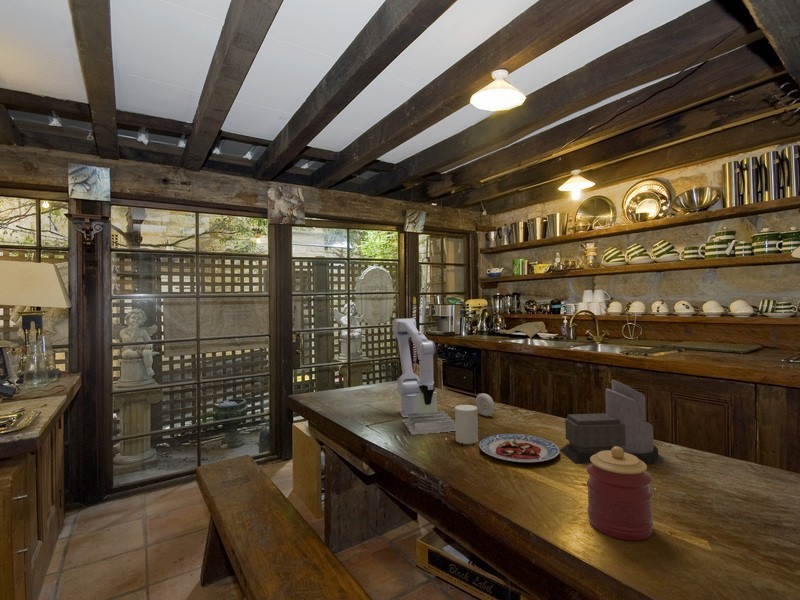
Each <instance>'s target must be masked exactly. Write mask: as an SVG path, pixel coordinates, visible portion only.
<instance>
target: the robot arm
mask: <svg viewBox="0 0 800 600" xmlns="http://www.w3.org/2000/svg"><path fill="white" fill-rule="evenodd" d="M416 321H417V320H416V319H415V318H413V317H410V318H394V320H393V322H392V331H393V338H395V339H397V344H398V350H399V358H400V364H401V371H402V372H401V373H402V374H401V375H400V376H399V377H398V378H397V392H398V394H399V396H401V398H400V399H401V400H400V401H401V410H399V413H400V415H401V416H402V418H408V413H418V412H417V393H423V395H424V401H425V405H430V404H431V400H432V395H433V392H435V389H436V387H435V386H434V384H435V381H434V355H435V353H436V343H435V341H433V340H430V339H429V340H428V338H427V337H426V335H424V333H423V332H422V331H419V330H418V328H417V322H416ZM410 338H411V342H412V343H413V345H414V346H415V347H416V354H417V359H418V360H419V361H418V362H419V363H418V364H419V365H418V366H419V368H418V370H419V372H418V373H419V375H417V374H416V373H414V370H413V362H412V357H411V350H410V344H409V343H410V342H409V339H410Z"/></svg>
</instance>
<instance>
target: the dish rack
mask: <svg viewBox="0 0 800 600" xmlns="http://www.w3.org/2000/svg"><path fill="white" fill-rule="evenodd" d="M403 422H404V423H403ZM402 423H403V425H404V426H405V427H407V428H406V429H407V431H408V432H410V433H409V434H411V435H410V436H416V435H415V434H423V435H429V434H428V433H436V434H441V433H440V432H448V433H451V432H450V431H456V429H455V419H452V417H451V416H449V414H448V413H446V411H445V410H438V412H434V413H422V414H418V413H408V417H407V418H406V419H405V418H404V419H402Z"/></svg>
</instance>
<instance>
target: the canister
mask: <svg viewBox="0 0 800 600" xmlns="http://www.w3.org/2000/svg"><path fill="white" fill-rule="evenodd" d="M590 461H591V462H592V463H590V464H587V466H586V472H587V474H588V479H587V480H586V486H587V508H586V509H587V516H588V521H589V523H590V524H591V526H593V528H595V530H597V531H599V532H601V533H602V534H604V535H606V536H608V537H612V538H614V539H615V538H616V539H618V540H619V539H620V540H623V541H634V542H635V541H641V540H646V539H648V538H650V537H651V536H652V533H653V529H654V520H653V507H652V505H653V504H652V503H653V502H652V501H653V500H652V498H653V492H652V489H650V484H651V483H652V481H653V478H652V475H651V474H650V473H649V472H648V471H647V469H648V464H645V463H644V462H643V461H641V460H639V459H638V458H637V457H636V456H634V455H632V454H629V453H626V452H624V451H623V449H622V448H621V447H618V446H615V447H613V448H612V449H611V450H606V451H600V452H598V453H597V454H594V455H592V456H591V457H590Z"/></svg>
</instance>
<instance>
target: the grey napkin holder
mask: <svg viewBox="0 0 800 600" xmlns="http://www.w3.org/2000/svg"><path fill="white" fill-rule="evenodd" d="M646 412H647V411H646V396H645V395H644V394H642V392H639V391H638V390H636V389H634V388H632V387H630V386H628V385H626V384H624V383H622V382H620V381H617V380H614V379H611V389H610V388H605V413H603V412H602V413H581V414H580V413H578V414H577V413H576V414H573V413H572V414H571V413H570V414H567V417H566V418H564V420H565V422H564V424H565V440H567V441H568V443H567V444H565V445H564V446H563V447H561V448H559V452H561V453H562V454H563V455H565V457H567V459H569V460H570V461H571V462H572V463H574V464H575V465H588V464H587V463H592V462H591V461H590V457H591V456H592V455H594V454H597V453H598V452H600V451H606V450H611V449H612V448H613V447H615V446H618V447H621V448H622V449H623V451H624V452H626V453H629V454H632V455H634V456H636V457H637V458H638V459H639V460H641V461H643V462H644V463H645V464H646V465H651V464H656V463H663V462H664V457H663V456H662V455H661V454H659V448H658V447H657V446H656V445H654V427H653V424H651V423H650V422H647V420H646V419H647V418H646V417H647V415H646ZM585 463H586V464H585Z"/></svg>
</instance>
